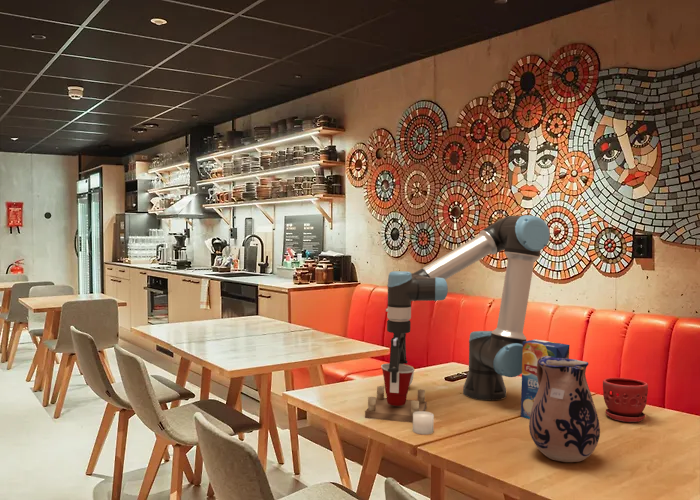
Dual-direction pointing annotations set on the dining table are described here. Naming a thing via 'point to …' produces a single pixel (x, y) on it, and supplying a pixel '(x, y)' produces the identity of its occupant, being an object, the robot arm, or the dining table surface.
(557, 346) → the juice carton
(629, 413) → the plant pot
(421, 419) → the marshmallow
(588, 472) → the dining table surface
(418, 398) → the stand
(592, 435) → the ceramic pitcher
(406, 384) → the plastic cup
